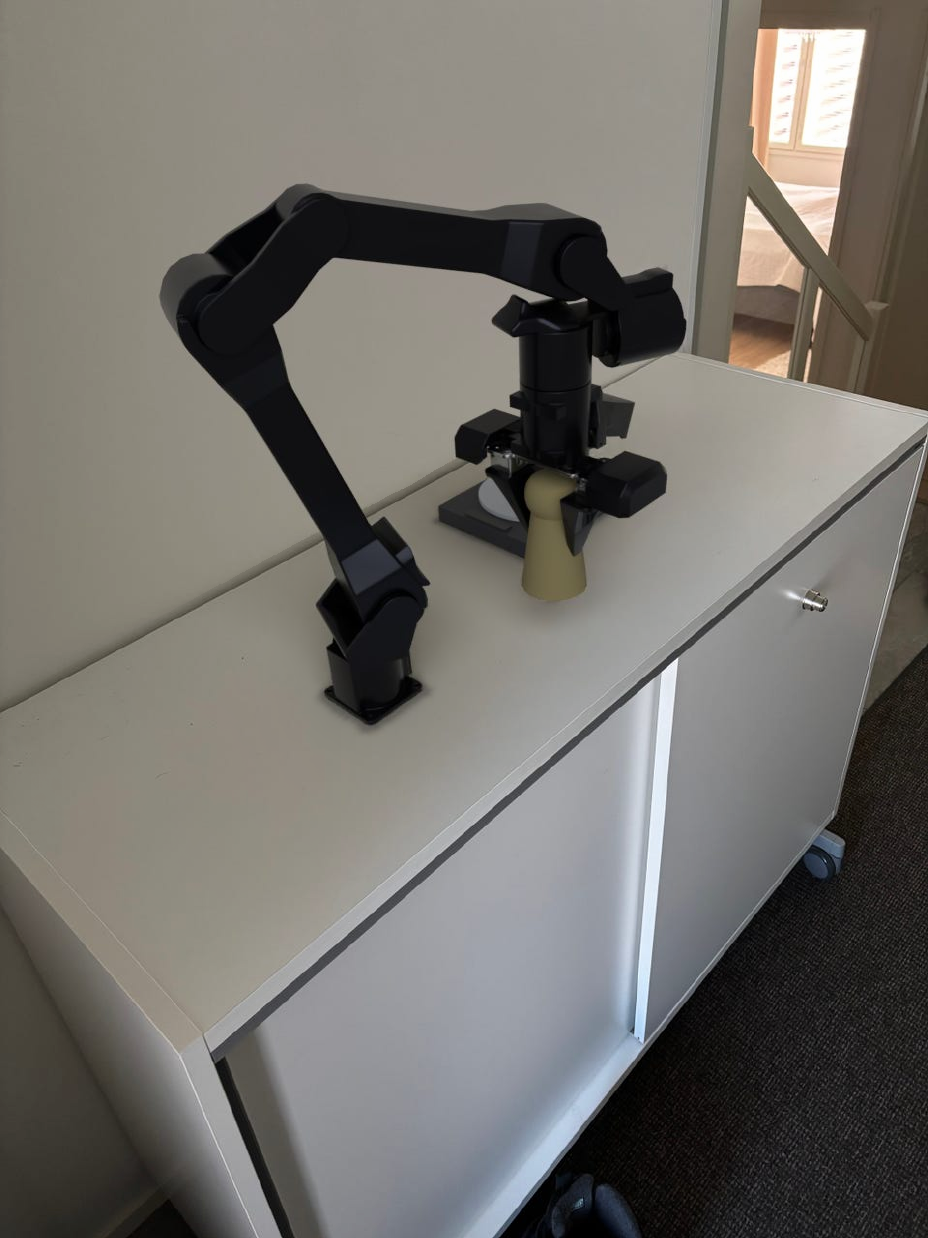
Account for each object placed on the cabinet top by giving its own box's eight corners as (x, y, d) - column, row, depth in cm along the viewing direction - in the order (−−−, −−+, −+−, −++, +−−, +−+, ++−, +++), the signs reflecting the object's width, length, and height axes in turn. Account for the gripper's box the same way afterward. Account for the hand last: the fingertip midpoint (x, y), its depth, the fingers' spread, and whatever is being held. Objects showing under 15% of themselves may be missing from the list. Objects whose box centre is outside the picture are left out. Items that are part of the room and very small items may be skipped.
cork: (598, 575, 85) (602, 467, 79) (567, 608, 81) (569, 497, 75) (540, 558, 88) (540, 453, 81) (508, 590, 84) (505, 481, 77)
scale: (531, 561, 98) (531, 540, 97) (438, 520, 107) (437, 501, 105) (624, 500, 108) (625, 480, 107) (533, 467, 116) (532, 448, 115)
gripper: (713, 372, 72) (695, 542, 81) (530, 327, 83) (533, 482, 92) (630, 420, 66) (620, 599, 75) (444, 365, 77) (456, 527, 86)
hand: (555, 546), depth 82 cm, fingers closed on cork, 4 cm apart
